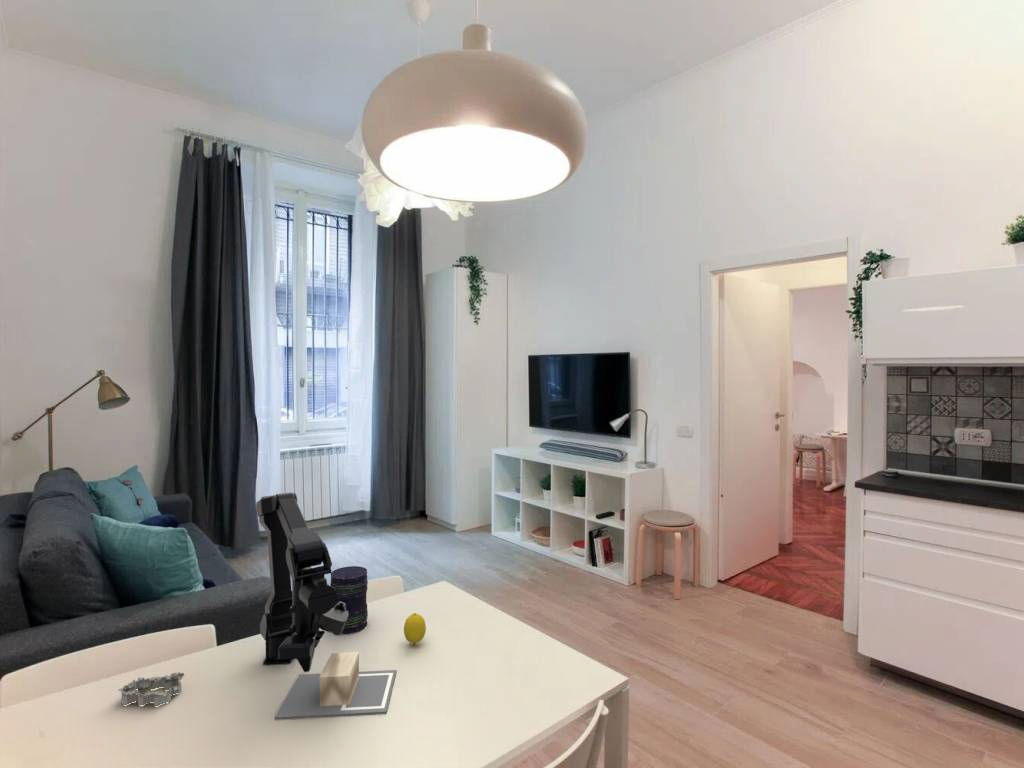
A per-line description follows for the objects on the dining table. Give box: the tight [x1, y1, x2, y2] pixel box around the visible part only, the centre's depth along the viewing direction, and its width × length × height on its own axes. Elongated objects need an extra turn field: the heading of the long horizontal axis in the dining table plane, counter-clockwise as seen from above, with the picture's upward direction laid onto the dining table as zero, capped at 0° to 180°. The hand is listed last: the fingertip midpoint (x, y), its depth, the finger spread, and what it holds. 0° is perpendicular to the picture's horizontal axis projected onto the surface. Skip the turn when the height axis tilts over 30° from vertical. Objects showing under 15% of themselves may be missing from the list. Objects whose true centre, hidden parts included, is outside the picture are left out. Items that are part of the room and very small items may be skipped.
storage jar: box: [329, 565, 369, 635], centre depth 150 cm, size 10×10×15 cm
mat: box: [274, 669, 397, 720], centre depth 118 cm, size 22×16×1 cm
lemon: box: [403, 612, 427, 645], centre depth 140 cm, size 6×6×8 cm
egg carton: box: [117, 672, 185, 707], centre depth 116 cm, size 11×8×4 cm
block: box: [320, 651, 360, 706], centre depth 118 cm, size 6×10×6 cm
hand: (307, 671), depth 117 cm, fingers closed
